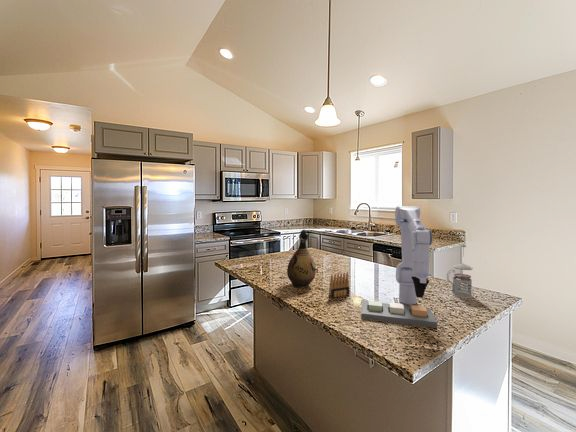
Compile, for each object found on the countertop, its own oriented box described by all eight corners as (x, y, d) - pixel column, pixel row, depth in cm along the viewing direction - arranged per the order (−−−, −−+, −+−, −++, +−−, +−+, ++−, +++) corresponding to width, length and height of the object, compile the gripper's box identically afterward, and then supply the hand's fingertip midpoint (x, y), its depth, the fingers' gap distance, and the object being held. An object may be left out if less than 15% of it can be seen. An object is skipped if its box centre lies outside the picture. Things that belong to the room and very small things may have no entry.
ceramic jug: (316, 290, 144) (317, 232, 142) (286, 289, 144) (287, 231, 142) (314, 280, 161) (315, 228, 159) (287, 280, 161) (287, 228, 159)
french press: (477, 299, 132) (479, 246, 131) (450, 297, 135) (452, 245, 133) (468, 292, 142) (470, 243, 141) (443, 290, 144) (445, 242, 143)
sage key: (368, 307, 116) (368, 300, 116) (381, 309, 114) (381, 301, 114) (368, 312, 111) (368, 304, 111) (381, 313, 109) (382, 306, 109)
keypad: (362, 307, 121) (362, 300, 121) (429, 315, 113) (429, 307, 113) (361, 321, 107) (361, 313, 107) (436, 330, 100) (437, 322, 100)
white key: (389, 309, 113) (389, 302, 113) (402, 311, 112) (402, 304, 112) (390, 314, 109) (390, 307, 108) (403, 316, 107) (404, 308, 107)
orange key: (410, 312, 111) (411, 304, 111) (424, 313, 110) (425, 306, 109) (412, 317, 106) (412, 309, 106) (427, 319, 105) (427, 311, 105)
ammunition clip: (347, 295, 136) (347, 271, 135) (349, 297, 134) (350, 272, 133) (328, 299, 131) (329, 273, 130) (330, 300, 129) (331, 274, 129)
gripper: (436, 266, 99) (434, 304, 99) (428, 258, 112) (427, 291, 113) (414, 265, 101) (413, 302, 101) (409, 257, 115) (408, 290, 115)
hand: (419, 296), depth 108 cm, fingers closed
